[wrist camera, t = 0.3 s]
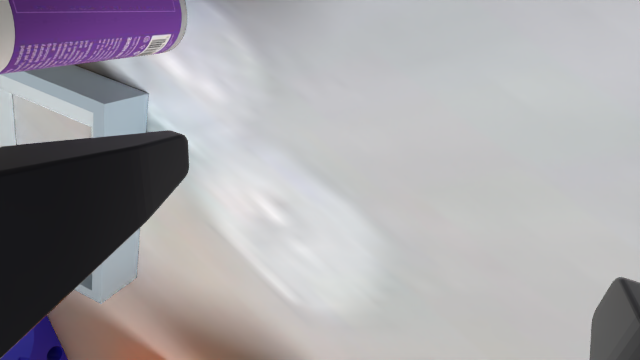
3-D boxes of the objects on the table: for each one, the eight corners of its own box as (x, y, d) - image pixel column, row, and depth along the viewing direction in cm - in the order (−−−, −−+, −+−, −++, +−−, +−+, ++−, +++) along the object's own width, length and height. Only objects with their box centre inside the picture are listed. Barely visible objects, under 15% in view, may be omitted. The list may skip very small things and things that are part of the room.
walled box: (136, 277, 34) (100, 303, 31) (-5, 205, 38) (-49, 223, 35) (148, 93, 28) (104, 104, 24) (-24, 27, 31) (-81, 29, 28)
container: (190, -25, 24) (-188, -65, 11) (185, 61, 26) (-139, 116, 13) (121, -42, 25) (-294, -96, 12) (121, 42, 27) (-235, 73, 14)
